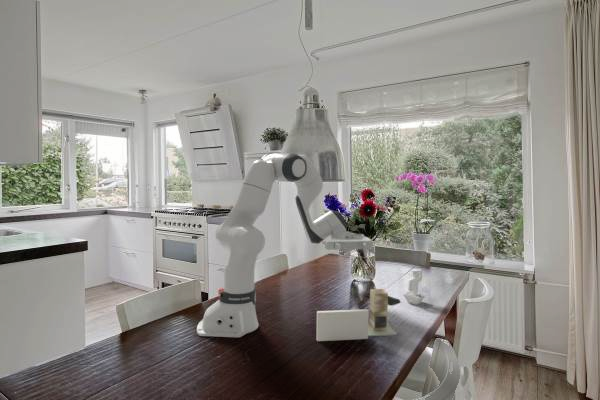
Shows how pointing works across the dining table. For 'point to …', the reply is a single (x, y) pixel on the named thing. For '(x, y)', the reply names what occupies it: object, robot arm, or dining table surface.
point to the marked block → (378, 309)
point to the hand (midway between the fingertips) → (353, 247)
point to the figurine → (414, 288)
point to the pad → (381, 332)
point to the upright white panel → (342, 325)
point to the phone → (390, 299)
